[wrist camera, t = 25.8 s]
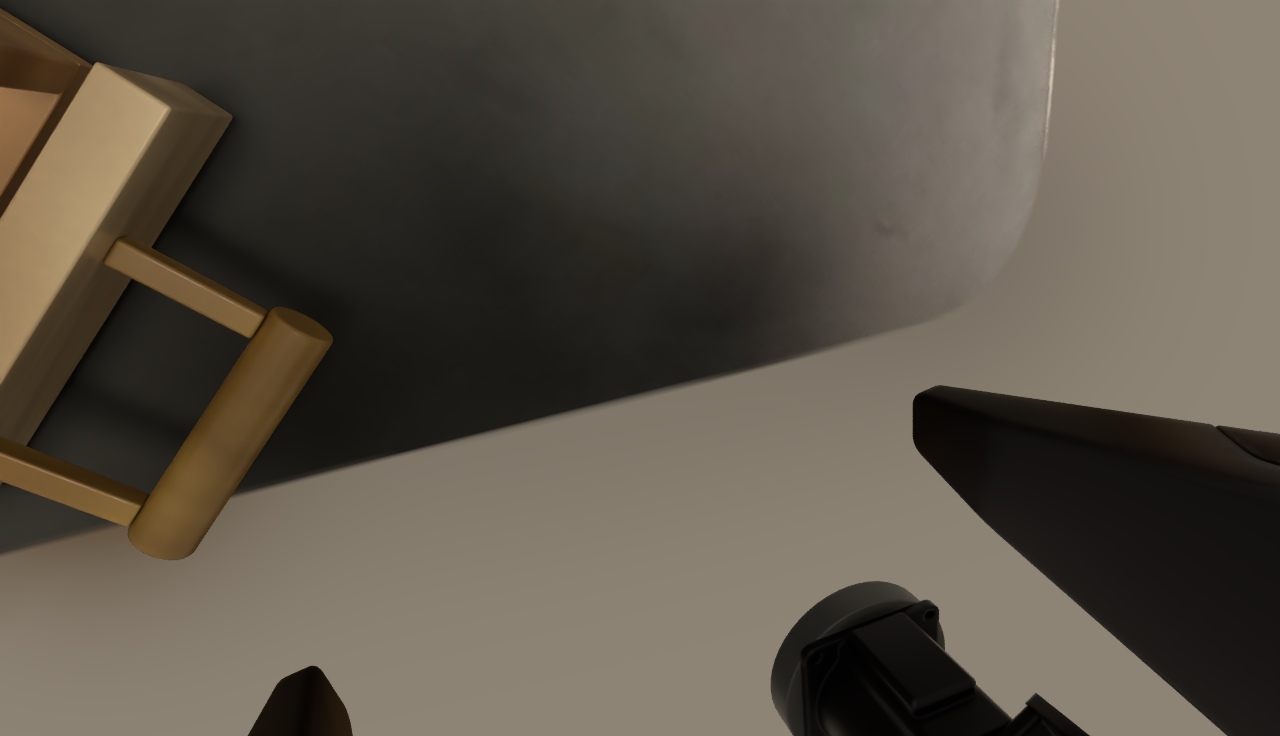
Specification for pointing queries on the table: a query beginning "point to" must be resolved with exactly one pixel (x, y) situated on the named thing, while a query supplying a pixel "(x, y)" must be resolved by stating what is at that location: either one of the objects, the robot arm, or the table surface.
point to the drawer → (119, 280)
